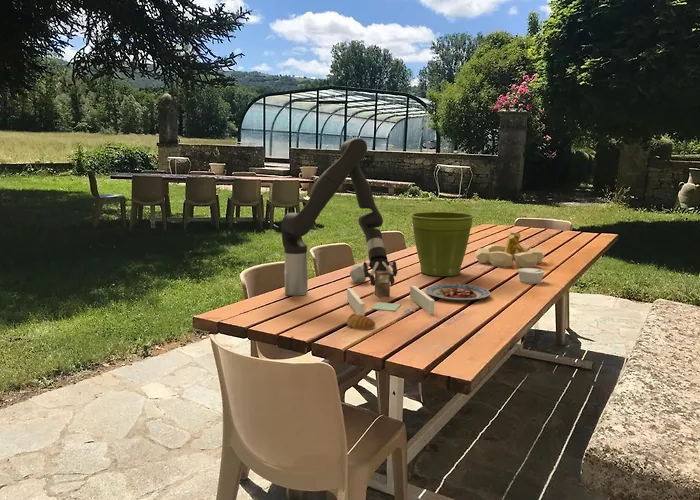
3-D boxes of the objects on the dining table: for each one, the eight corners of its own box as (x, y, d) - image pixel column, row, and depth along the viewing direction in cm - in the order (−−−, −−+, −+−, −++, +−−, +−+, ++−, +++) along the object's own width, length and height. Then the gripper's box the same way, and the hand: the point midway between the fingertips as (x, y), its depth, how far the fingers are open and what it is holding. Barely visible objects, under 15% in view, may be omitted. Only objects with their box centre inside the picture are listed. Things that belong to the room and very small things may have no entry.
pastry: (379, 326, 180) (379, 315, 180) (368, 332, 175) (368, 320, 174) (355, 322, 186) (355, 311, 185) (344, 327, 180) (344, 316, 179)
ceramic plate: (497, 293, 226) (497, 286, 226) (478, 307, 204) (478, 300, 204) (439, 286, 239) (439, 279, 239) (415, 298, 217) (415, 291, 217)
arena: (360, 318, 190) (360, 304, 189) (347, 300, 213) (347, 288, 212) (434, 314, 195) (434, 300, 194) (413, 297, 218) (414, 285, 217)
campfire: (533, 271, 272) (535, 237, 269) (467, 264, 289) (468, 233, 286) (548, 260, 301) (550, 230, 298) (488, 255, 319) (489, 226, 316)
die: (361, 286, 241) (373, 267, 243) (345, 276, 242) (356, 257, 244) (361, 288, 249) (372, 270, 251) (345, 278, 250) (356, 261, 252)
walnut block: (377, 297, 219) (378, 273, 217) (374, 294, 224) (375, 270, 222) (389, 296, 220) (390, 272, 218) (386, 293, 225) (386, 270, 223)
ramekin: (545, 284, 242) (545, 273, 241) (518, 283, 244) (519, 272, 243) (541, 279, 252) (542, 268, 252) (516, 278, 255) (517, 267, 254)
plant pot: (417, 265, 285) (418, 211, 280) (474, 269, 275) (477, 213, 270) (403, 277, 257) (404, 216, 252) (467, 281, 247) (469, 218, 243)
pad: (371, 309, 201) (371, 308, 201) (378, 303, 209) (378, 302, 209) (394, 311, 198) (394, 310, 198) (400, 305, 207) (400, 304, 206)
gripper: (361, 246, 225) (367, 280, 215) (394, 245, 227) (402, 278, 218) (358, 256, 231) (364, 290, 221) (391, 255, 233) (398, 288, 224)
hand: (383, 284), depth 219 cm, fingers open, 7 cm apart
